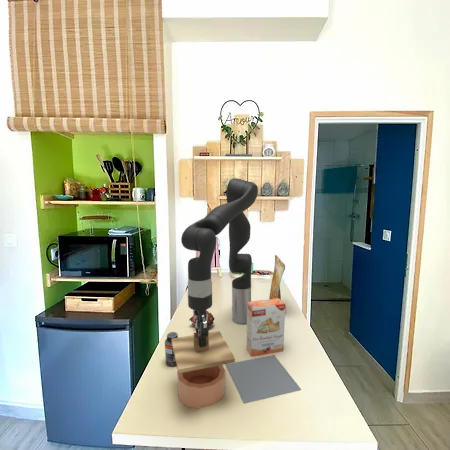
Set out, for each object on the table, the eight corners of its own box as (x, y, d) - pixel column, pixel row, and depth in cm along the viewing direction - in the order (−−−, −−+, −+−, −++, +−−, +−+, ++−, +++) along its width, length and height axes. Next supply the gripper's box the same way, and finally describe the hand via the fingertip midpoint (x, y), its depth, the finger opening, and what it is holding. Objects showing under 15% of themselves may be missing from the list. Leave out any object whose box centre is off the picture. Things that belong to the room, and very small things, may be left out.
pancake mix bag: (279, 302, 163) (281, 254, 158) (284, 319, 144) (285, 264, 140) (267, 302, 163) (268, 253, 159) (270, 318, 144) (271, 264, 140)
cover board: (171, 341, 99) (170, 326, 98) (219, 333, 104) (219, 318, 103) (178, 373, 83) (177, 355, 82) (235, 362, 88) (234, 344, 87)
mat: (225, 365, 108) (225, 364, 108) (274, 356, 114) (274, 354, 114) (243, 405, 89) (243, 403, 89) (301, 391, 95) (301, 389, 95)
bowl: (175, 380, 101) (175, 361, 100) (217, 371, 105) (217, 354, 104) (182, 413, 86) (181, 392, 85) (230, 402, 91) (230, 381, 90)
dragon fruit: (216, 331, 136) (191, 333, 137) (216, 314, 142) (192, 317, 143) (212, 322, 130) (186, 325, 131) (212, 305, 136) (188, 308, 137)
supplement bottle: (174, 355, 115) (173, 328, 113) (184, 361, 111) (183, 333, 109) (162, 362, 110) (161, 335, 109) (172, 369, 107) (171, 340, 105)
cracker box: (251, 358, 112) (251, 307, 109) (246, 350, 118) (246, 301, 115) (284, 352, 116) (285, 303, 113) (277, 344, 122) (278, 297, 118)
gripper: (184, 284, 96) (185, 333, 99) (192, 302, 82) (193, 357, 85) (206, 282, 98) (207, 330, 101) (217, 298, 85) (218, 353, 87)
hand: (201, 342), depth 93 cm, fingers closed on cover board, 4 cm apart
